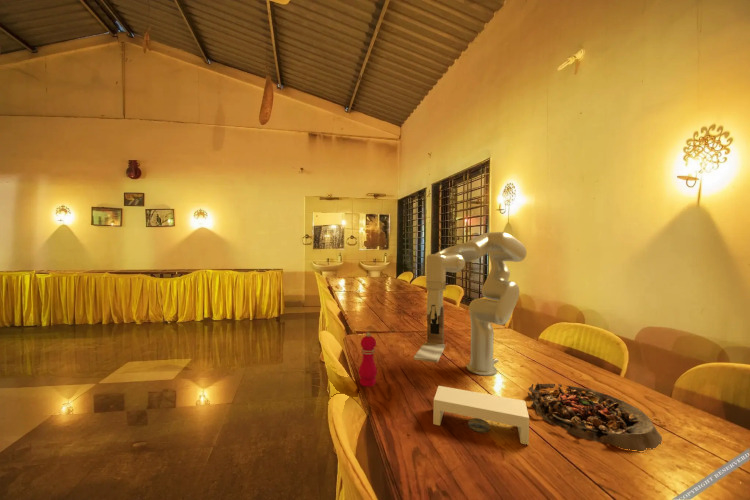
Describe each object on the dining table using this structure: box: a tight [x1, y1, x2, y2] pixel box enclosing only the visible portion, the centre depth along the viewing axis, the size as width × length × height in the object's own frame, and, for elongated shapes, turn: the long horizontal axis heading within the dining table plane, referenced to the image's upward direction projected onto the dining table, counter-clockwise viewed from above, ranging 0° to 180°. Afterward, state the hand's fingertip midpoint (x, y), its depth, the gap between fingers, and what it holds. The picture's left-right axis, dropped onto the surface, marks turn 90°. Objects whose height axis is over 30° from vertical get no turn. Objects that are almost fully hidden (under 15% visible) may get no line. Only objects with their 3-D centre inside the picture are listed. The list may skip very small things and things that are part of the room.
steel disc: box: [467, 417, 491, 434], centre depth 90 cm, size 6×6×1 cm
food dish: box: [527, 382, 663, 451], centre depth 97 cm, size 35×33×8 cm
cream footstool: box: [432, 385, 530, 446], centre depth 91 cm, size 10×26×8 cm, turn 70°
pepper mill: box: [358, 331, 378, 388], centre depth 118 cm, size 7×7×20 cm
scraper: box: [413, 305, 446, 364], centre depth 110 cm, size 20×8×15 cm, turn 158°
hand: (435, 332), depth 118 cm, fingers closed on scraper, 3 cm apart
